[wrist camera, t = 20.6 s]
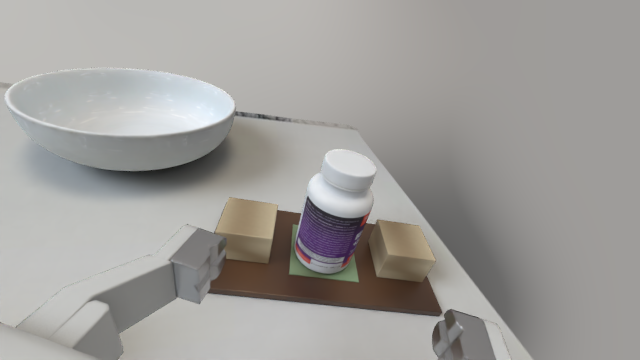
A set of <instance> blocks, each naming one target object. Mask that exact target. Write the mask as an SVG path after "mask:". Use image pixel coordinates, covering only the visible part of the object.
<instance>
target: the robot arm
mask: <svg viewBox="0 0 640 360" xmlns="http://www.w3.org/2000/svg"><path fill="white" fill-rule="evenodd" d="M226 245H227V238H226V237H223V236H220V235H218V234H215V233H212V232H209V231H206V230H203V229H200V228H197V227H194V226H191V225H188V224H187V225H184V226H183V227H181V228H180V229H179V230H178V231H177V232H176V233H175V234H174V235H173V236H172V237H171V238H170V239H169V240H168V241H167V242H166V243H165V244H164V245H163V246H162V248H161V249H160V250H159V251H158V252H157V253H156V254H155V255H154V256H153V255H147V256H144V257H142V258H139V259H136V260H134V261H131V262H128V263H126V264H123V265H121V266H118V267H115V268H113V269H110V270H107V271H105V272H102V273H100V274H97V275H94V276H92V277H89V278H87V279H84V280H81V281H79V282H76V283H73V284H71V285H68V286H66V287H64V288H62V289H61V290H60V291H59V292H58V293H56V294H55V295H54V296H53V297H52V298H50V299H49V300H48V301H47V302H46V303H44V304H43V305H42V306H41V307H39V308H38V309H37V310H36V311H35V312H33V313H32V314H31V315H30V316H29V317H27V318H26V319H25V320H24V321H22V322H21V323H20V324H19V325H18V326H16V327H12V326H9V325H6V324H4V323H1V322H0V360H118V359H119V357H120V356H121V355H122V353H123V345H122V342H121V339H120V336H119V333H121V332H123V331H124V330H126V329H128V328H129V327H131V326H132V325H134V324H136V323H137V322H139V321H141V320H142V319H144V318H145V317H147V316H149V315H150V314H152V313H154V312H155V311H157V310H158V309H160V308H162V307H163V306H165V305H167V304H168V303H170V302H172V301H173V300H175V299H176V297H178V298H181V299H185V300H188V301H191V302H194V303H197V304H200V303H201V301H202V300H203V298H204V297H205V295H206V294H207V292H208V291H209V289H210V281H212V280H214V279H216V278H217V277H218V276H219V274H220V273H221V271H222V269H223V266H224V264H225V260H226V252H225V250H224V248H225V246H226ZM444 317H445V320H443V321H440V322H438V323H437V325H436V326H435V327H434V331H433V335H432V345H433V350H434V352H435V353H436V355H437V357H438V360H511V357H510V354H509V351H508V349H507V346H506V343H505V340H504V338H503V335H502V332H501V330H500V327H499V326H498V325H497V324H496V323H493V322H490V321H487V320H484V319H480V318H478V317H475V316H472V315H468V314H465V313H462V312H459V311H455V310H452V309H450V310H448V311H447V312H446V313H445V314H444Z"/></svg>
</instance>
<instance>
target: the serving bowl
mask: <svg viewBox="0 0 640 360" xmlns="http://www.w3.org/2000/svg"><path fill="white" fill-rule="evenodd" d="M5 103H6V105H7V107H8V109H9V111H10V112H11V114H12V116H13V117H14V119H15V120H16V122H17V123H18V125H19V126H20V127H21V128H22V130H23V131H24V132H25V133H26V134H27V135H28V136H29V137H30V138H31V139H32V140H34V141H35V142H36V143H37V144H39V145H40V146H42V147H43V148H45V149H46V150H48V151H50V152H52V153H53V154H55V155H57V156H60V157H62V158H64V159H67V160H69V161H72V162H75V163H78V164H82V165H86V166H90V167H95V168H100V169H107V170H117V171H146V170H157V169H164V168H169V167H174V166H178V165H182V164H185V163H188V162H191V161H194V160H196V159H198V158H200V157H202V156H204V155H206V154H208V153H209V152H211V151H212V150H213V149H215V148H216V147H217V146H218V145H219V144H220V143H221V142H222V141H223V140H224V139H225V137H226V136H227V134H228V133H229V131H230V128H231V126H232V123H233V120H234V116H235V111H236V104H235V102H234V100H233V98H232V97H231V96H230V95H229V94H228V93H226V92H225V91H224V90H222V89H220V88H218V87H216V86H214V85H212V84H209V83H207V82H204V81H200V80H198V79H194V78H190V77H186V76H182V75H176V74H172V73H166V72H159V71H151V70H141V69H126V68H82V69H70V70H63V71H56V72H49V73H44V74H40V75H36V76H33V77H29V78H26V79H23V80H21V81H19V82H17V83H16V84H14V85H12V86H11V87H10V88H9V89H8V90H7V92H6V94H5Z"/></svg>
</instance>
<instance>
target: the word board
mask: <svg viewBox="0 0 640 360" xmlns="http://www.w3.org/2000/svg"><path fill="white" fill-rule="evenodd" d="M277 209H278V205H277V204H271V203H264V202H258V201H251V200H244V199H238V198H231V197H229V199H228V201H227V203H226V205H225V208H224V210H223V213H222V215H221V218H220V220H219V223H218V225H217V227H216V230H215V232H214V233H215V234H218V235H220V236H223V237H226V238H227V245H226V246H225V248H224V250H225V252H226V260H225V264H224V266H223V269H222V271H221V273H220V274H219V276H218V277H217V278H216V279H214V280H212V281H210V289H209V291H208V292H207V293H216V294H226V295H235V296H245V297H255V298H265V299H275V300H285V301H295V302H304V303H314V304H324V305H334V306H344V307H354V308H364V309H373V310H383V311H393V312H403V313H413V314H423V315H433V316H440V314H441V313H442V311H441V309H440V306H439V304H438V302H437V299H436V297H435V294H434V292H433V290H432V287H431V285H430V283H429V280H428V278H427V274H428V272H429V271H430V269H431V268H432V266H433V265H434V263H435V262H436V259H435V257H434V255H433V253H432V251H431V249H430V247H429V245H428V243H427V241H426V238H425V236H424V234H423V232H422V230H421V228H420V226H418V225H411V224H404V223H398V222H391V221H384V220H377V222H376V224H368V223H366V224H365V226H364V229H363V231H362V234H361V236H360V239H359V241H358V244H357V246H356V249H355V251H354V254H353V256H352V258H351V260H350V262H349V264H348V265H347V266H346V267H345V268H344V269H343V270H341V271H339V272H336V273H331V274H324V273H319V272H315V271H313V270H311V269H309V268H307V267H306V266H305V265H303V264H302V263H301V262H300V260H299V259H298V257H297V255H296V253H295V249H294V244H295V239H296V234H297V230H298V225H299V221H300V217H301V214H300V213H294V212H287V211H280V210H277Z"/></svg>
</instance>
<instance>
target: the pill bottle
mask: <svg viewBox="0 0 640 360" xmlns="http://www.w3.org/2000/svg"><path fill="white" fill-rule="evenodd" d="M375 174H376V166H375V164H374V163H373V162H372V161H371V160H370V159H369V158H367V157H365V156H364V155H362V154H359V153H357V152H354V151H350V150H344V149H335V150H331V151H329V152H327V153H326V155H325V158H324V161H323V164H322V166H321V172H320V173H318V174H316V175H315V176H313V177H312V179H311V180H310V182H309V184H308V188H307V191H306V196H305V200H304V204H303V209H302V213H301V217H300V221H299V225H298V230H297V234H296V239H295V244H294V249H295V253H296V255H297V257H298V259H299V260H300V262H301V263H302V264H303V265H305V266H306V267H307V268H309V269H311V270H313V271H315V272H319V273H324V274H331V273H336V272H339V271H341V270H343V269H344V268H345V267H346V266H347V265H348V264H349V262H350V260H351V258H352V256H353V254H354V251H355V249H356V246H357V244H358V241H359V239H360V236H361V234H362V231H363V229H364V226H365V224H366V221H367V219H368V216H369V214H370V211H371V209H372V206H373V202H374V198H373V194H372V191H371V189H370V186H371V185H372V183H373V179H374V177H375Z"/></svg>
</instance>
